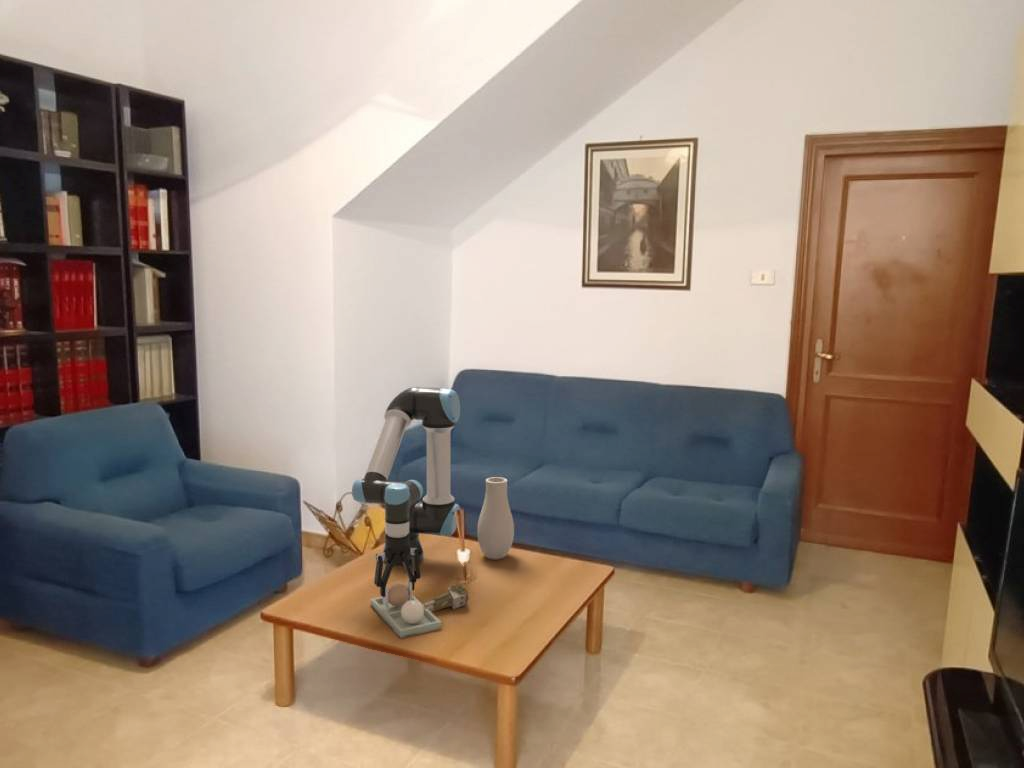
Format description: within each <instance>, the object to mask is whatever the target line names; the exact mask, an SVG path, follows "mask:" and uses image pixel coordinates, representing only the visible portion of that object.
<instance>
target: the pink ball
mask: <svg viewBox="0 0 1024 768" xmlns="http://www.w3.org/2000/svg"><path fill="white" fill-rule="evenodd" d="M408 598H409V592H408V589H407V586H405V585H404V584H403V583H393V584H392V585H391V586H389V587H388V602H389V603H390V604H391V605H393V606H396V607H398V606H402V605H404V603H406V602H407V600H408Z"/></svg>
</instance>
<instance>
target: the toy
mask: <svg viewBox="0 0 1024 768" xmlns="http://www.w3.org/2000/svg"><path fill="white" fill-rule="evenodd" d="M468 591H469V589H467V588H466V587H465V586H464V585H463V584H462V582H457V583H456V584H453V585H451V586H450V587H448V588H447V589H446V592H445V593H442V594H439V595H437V596H434V597H433V599H432V600H429V601H427V602H424V603H423V605H424V606H425V607H426V608H427V609H428V610H429V611H430V612H432V611H434V610H435V611H438V610H441V609H442V610H443V609H445V608H448V607H449V606H451V608H452V609H453V610H455V609H458V608H460V607H463V606H467V605H468V602H469V600H470V597H469V592H468Z"/></svg>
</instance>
